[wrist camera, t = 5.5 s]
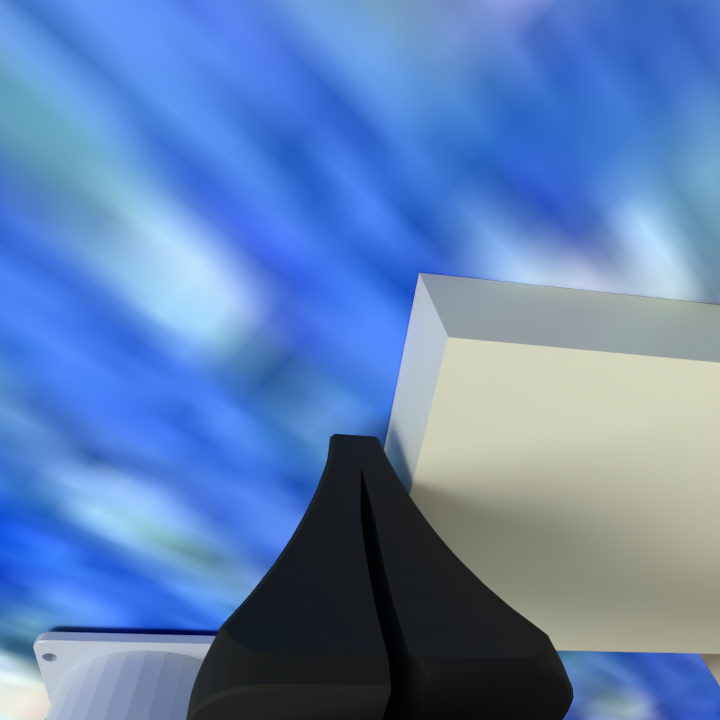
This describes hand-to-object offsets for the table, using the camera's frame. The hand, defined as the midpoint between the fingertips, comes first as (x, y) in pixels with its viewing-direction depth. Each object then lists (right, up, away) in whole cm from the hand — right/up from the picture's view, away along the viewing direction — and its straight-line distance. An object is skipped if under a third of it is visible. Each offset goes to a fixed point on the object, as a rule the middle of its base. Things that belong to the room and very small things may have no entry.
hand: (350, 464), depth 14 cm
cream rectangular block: (+8, 0, +2) cm, 8 cm away
